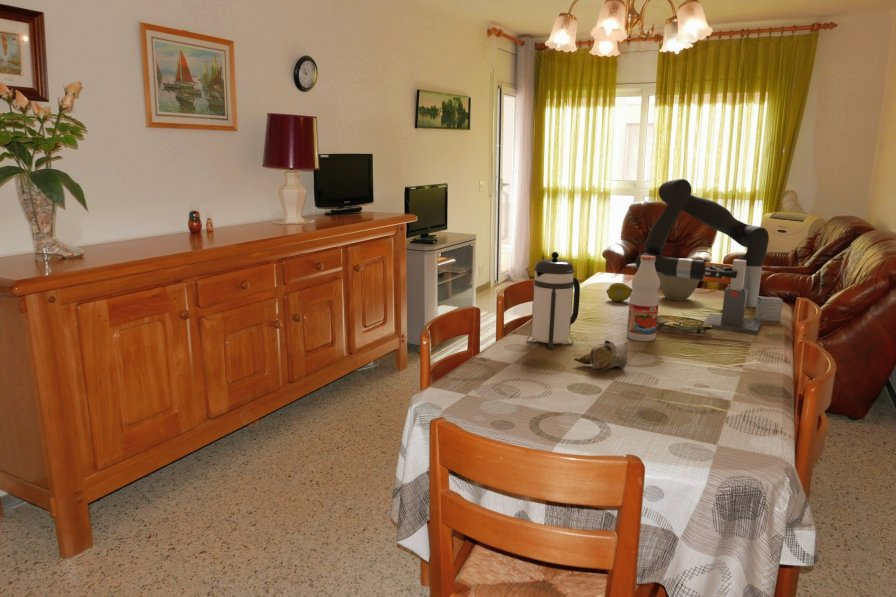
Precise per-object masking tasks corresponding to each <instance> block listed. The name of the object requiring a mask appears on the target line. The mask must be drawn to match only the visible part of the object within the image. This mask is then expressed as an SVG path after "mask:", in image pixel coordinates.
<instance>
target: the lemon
mask: <svg viewBox="0 0 896 597" xmlns="http://www.w3.org/2000/svg"><path fill="white" fill-rule="evenodd" d="M605 291H606V292H605V293H607V294H606V295H607V297H608V298H609V300H611V301H613V302H618V303H620V302H623V301H626V300H628V299H630V295H631V293H632V287H630V286H629V285H627V284H626V283H621V282H615V283H614V282H613V283H612V284H610V285H609V288H607V289H606V290H605Z"/></svg>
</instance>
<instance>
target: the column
mask: <svg viewBox="0 0 896 597" xmlns="http://www.w3.org/2000/svg"><path fill="white" fill-rule="evenodd" d="M731 268H732V272H737V276H736V278H730V286H729V287H730V290H733V291H742V292H743V284H744V276H745V268H746V260H739V258H737V259H736V258H735V259H733V260H732V267H731Z"/></svg>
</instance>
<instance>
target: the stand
mask: <svg viewBox="0 0 896 597" xmlns="http://www.w3.org/2000/svg"><path fill="white" fill-rule="evenodd" d="M747 291H748V289H743V292H742V291H733V290H730V286H727V287H726V288H725V289H724V293H723V301H722V302H723V303H722V309H721V310H722V311H721V314H718V313H709V314H708V315H707V317H706V318H705V319H704V321H703V322H704V323H707V324H710V325H712V328H711V329H714V330H719V331H727V332H735V333H743V334H749V335H758V332H759V330H760V327H761V324H762V321H761V320H758V319H756V318H749V317H745V315H746V314H745V313H746V308H747V307H746V299H747Z"/></svg>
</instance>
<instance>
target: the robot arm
mask: <svg viewBox="0 0 896 597" xmlns="http://www.w3.org/2000/svg"><path fill="white" fill-rule="evenodd" d="M658 196H659V198H660V200H661V201H662V202H663V203H665V204H666V207H665V208H664V210H663V212H662V214H660V215H659V217H658V219H657V220H656V221H655V222H654V223H653V225H652V227H651V229H650V231H649V233H648V235H647V238H646V240H645V242H644V251H643V253H641V254H639V255H638V256H636V259H635V266H636V267H637V270H638V269H639V266H640V264H641V261H640V257H641V256H642V255H650V256H655V257H656V260H655V263H654V264H655V269H656V273H657V272H660V273H662V274H663V275H666V276H674V277H681V278H687V279H696V280H699V281H703V280H704V279H705V278H707V277H708V278H715V279H724V278H728V279H731V278H736V276H737V272H732V267H729V266H727V265H720V264H719V265H717V264H710V265H708V266H707V262H706V260H705V259H696V258H688V257H687V258H686V257H685V258H684V257H683V258H681V257H678V258H676V257H667V256H663V255H662V252H663V249H664V247H665V246H666V243H667V240H668V237H669V235H670V233H671V230H672V228H673V226H674V224H675V222H676V221H677V219H678V217H679V216H680V214H681V213H682V211H683V212H685V213H686V214H688V215H690V217H692V218H695V219H697V220H698V221H700V222H701V223H703V224H705V225H706V226H708V227H710V228H711V229H713V230H716V231H718V232H719V233H723V234H725V235H727V236H728V237H730V238H731V239H732V240H733V241H735V242H736V243H737V244H738V245H739V246H742V247H743V248H746V252H745V253H744V254H743V255H742V256H741V255H740V257H738V260H746V268H745V276H744V284H743V289H748V291H747V299H746V307H745V308H756V305H757V298H758V297H759V294H760V285H761V277H762V270H763V264H764V261H765V259H766V258H767V251H768V246H769V239H770V237H769V233H768V230H767V229H766V228H765V227H762V226H756V225H752V224H747V223H744V222H742V221H740V220H738V219H737V218H735V217H734V216H733V215H732V213H731V212H730V210H729V209H727V208H726V207H724V205H721V204H719V203H718V202H715V201H713V200H711V199H706V198H703V197H699V196H695V195H693V194H692V185H691V183H690V182H689V181H688V180H687V179H685V178H678V179H672V180H668V181H665V182H663V183H662V184H661V185H660V186H659V188H658Z"/></svg>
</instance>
